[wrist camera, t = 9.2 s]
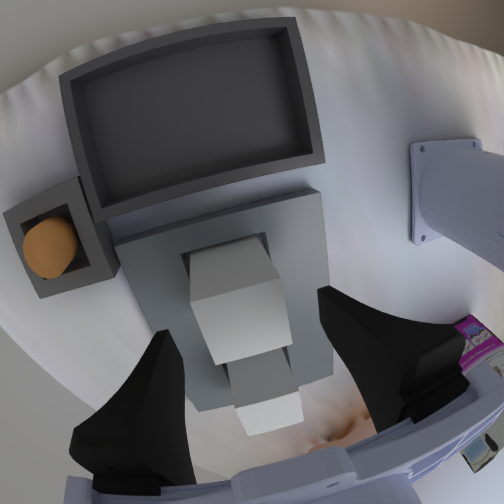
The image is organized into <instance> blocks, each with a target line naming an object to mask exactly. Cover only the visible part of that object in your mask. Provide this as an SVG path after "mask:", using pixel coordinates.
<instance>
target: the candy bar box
mask: <svg viewBox="0 0 504 504" xmlns="http://www.w3.org/2000/svg"><path fill="white" fill-rule="evenodd" d="M453 326H454V327H456V328H457V329H458V330H459V331H460V332H461V333H462V334H463V335H464V336H465V338H466V345H465V349H464V351H463V354H462V357H461V359H460V362H459V365H460V366H461V367H462V368H463V370H462V372H461V373H462V374H463V375H464V376H466V375H467V373H468V372H469V371H470V370H472V369H473V368H474V367H476V366H477V365H478V364H480V363H481V362H482V361H484V360H486V361H487V362H488V363H489V364H490V365H491V366H492V368H493V369H494V370H495V371H496V372H497V373H498V374H499V375H500V376H501V377H502V378H503V379H504V343H503V342H502V341H501V340H500V339H499V338H497V337H496V336H495V335H494V334H493V333H492V332H491V331H490V330H489V329H488V328H487V327H485V326H484V325H483V324H482V323H481V322H480V321H478V320H477V319H476V318H475V317H474V316H473V315H469V316H467V317H465V318H464V319H462V320H460V321H458V322H456V323H455V324H453ZM503 449H504V409H503V411H502V412H501V413H500V415H499V416H498V417H497V419H496V420H495V421H494V422H493V423H492V424H491V425H490V426H489V427H488V428H487V429H486V430H484V431H483V432H482V433H481V434H480V435H479V436H477V437H476V438H475V439H474V440H473V441H471V442H470V443H469V444H468V445H466V446H465V447H464V448H463V449H462V450H460V451H459V452H460V453H461V454H462V456H463V457H464V459H465V460H466V462H467V463H468V465H469V466H470V468H471V469H472V471H473V472H474V473H476V472H478V471H480V470H481V469H482V468H483V467H484V466H485V465H487V464H488V463H489V462H490V461H491V460H493V459H494V458H495V457H496V456H497V455H498V454H499V453H500V452H501V451H502V450H503Z"/></svg>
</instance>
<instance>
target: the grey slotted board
mask: <svg viewBox="0 0 504 504" xmlns="http://www.w3.org/2000/svg"><path fill="white" fill-rule="evenodd" d="M260 232H263V237H264V242H265V247H266V252H267V254H268V256H269V258H270V260H271V261H272V263H273V265H274V267H275V268H276V270H277V272H278V273H279V275H280V277H281V281H282V286H283V292H284V297H285V303H286V309H287V314H288V320H289V326H290V332H291V337H292V343H293V344H291V345H287V346H285V350H286V356H287V361H288V364H289V367H290V369H291V372H292V374H293V377H294V379H295V382H296V384H297V386H298V387H299V386H302V385H305V384H308V383H311V382H314V381H316V380H319V379H322V378H325V377H328V376H330V375H333V346H332V344H331V342H330V341H329V339H328V338H327V336H326V334H325V332H324V330H323V327H322V325H321V323H320V318H319V306H318V295H317V289H318V288H321V287H325V286H328V285H329V286H330V281H329V268H328V256H327V245H326V235H325V226H324V217H323V208H322V200H321V193H320V192H319V191H317V190H315V189H313V188H312V189H307V190H303V191H298V192H294V193H289V194H285V195H281V196H276V197H272V198H268V199H264V200H260V201H255V202H251V203H247V204H243V205H239V206H235V207H232V208H228V209H224V210H220V211H216V212H212V213H209V214H205V215H201V216H197V217H194V218H190V219H187V220H183V221H179V222H176V223H172V224H169V225H165V226H162V227H158V228H155V229H152V230H148V231H145V232H141V233H138V234H135V235H132V236H128V237H125V238H122V239H119V240H118V242H117V243H116V245H115V246H114V248H115V250H116V253H117V255H118V258H119V260H120V263H121V265H122V268H123V270H124V272H125V275H126V277H127V279H128V282H129V284H130V286H131V288H132V291H133V293H134V295H135V297H136V299H137V302H138V304H139V306H140V308H141V310H142V312H143V314H144V316H145V318H146V320H147V322H148V324H149V326H150V328H151V330H152V332H153V334H154V335H155V333H156V332H157V331H161V330H165V329H169V331H170V333H171V335H172V338H173V340H174V342H175V344H176V346H177V348H178V350H179V352H180V354H181V356H182V358H183V363H184V371H185V391H186V393H187V395H188V396H189V398H190V399H191V401H192V403H193V404H194V406H195V407H196V409H197V411H198V412H201V411H206V410H211V409H216V408H220V407H225V406H229V405H234V401H233V396H232V390H231V385H230V379H229V375H228V373H227V370H226V368H225V365H224V363H223V364H219V365H215V362H214V360H213V358H212V355H211V353H210V351H209V349H208V346H207V344H206V341H205V339H204V337H203V334H202V332H201V329H200V327H199V325H198V322H197V320H196V317H195V315H194V312H193V310H192V307H191V305H190V272H189V269H188V266H187V263H186V260H185V257H184V254H183V253H185V252H189V251H193V250H196V249H200V248H204V247H208V246H211V245H215V244H219V243H222V242H226V241H230V240H234V239H238V238H241V237H245V236H249V235H253V234H257V233H260Z"/></svg>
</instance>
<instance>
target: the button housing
mask: <svg viewBox="0 0 504 504" xmlns="http://www.w3.org/2000/svg"><path fill="white" fill-rule="evenodd" d="M66 203H67V204H68V207H69V210H70V213H71V216H72V219H73V222H74V224H75V227H76V230H77V232H78V235H79V237H80V240H81V243H82V245H83V247H84V250H85V252H86V255H87V256H86V257H83V258H79V259H76V260H73V261H71V262H70V264H69V265H68V266H67V267H66V269H65V270H64V271H63V273H62V274H61V275H60V276H58V277H56V278H53V279H47V278H43V277H41V276H39V275H37V274H36V273H35V272H34V271H33V270H32V269H31V268H30V267H29V265H28V264H27V262H26V260H25V257H24V253H23V242H24V238H25V236H26V234H27V233H28V232H29V231H30V230H31V229H32V228H34V227H35V226H36V225H38V222H37V219H36V216H38V215H40V214H42V213H45V212H47V211H49V210H52V209H54V208H56V207H58V206H61V205H63V204H66ZM3 215H4V218H5V221H6V224H7V227H8V229H9V232H10V235H11V237H12V240H13V242H14V245H15V247H16V250H17V252H18V254H19V257H20V259H21V261H22V263H23V266H24V268H25V270H26V272H27V274H28V276H29V278H30V280H31V282H32V284H33V286H34V288H35V290H36V292H37V294H38V296H39V298H40V299H42V298H45V297H49V296H52V295H55V294H59V293H62V292H66V291H69V290H73V289H76V288H80V287H83V286H87V285H91V284H94V283H98V282H101V281H105V280H108V279H112V278H115V276H116V274H117V272H118V269H119V267H120V265H121V263H120V260H119V258H118V255H117V253H116V250H115V248H114V246H115V244H114V242H113V239H112V236H111V234H110V231H109V228H108V225H107V223H106V220H104V221H101V222H98V223H95V220H94V217H93V214H92V212H91V209H90V206H89V203H88V200H87V197H86V193H85V190H84V187H83V184H82V180H81V177H80V176H78V177H75V178H73V179H71V180H68V181H66V182H64V183H61V184H59V185H57V186H55V187H53V188H50V189H48V190H46V191H44V192H42V193H40V194H38V195H36V196H34V197H32V198H30V199H28V200H26V201H24V202H22V203H20V204H18V205H16V206H14V207H13V208H11V209H9V210H7V211H5V212H4V213H3Z"/></svg>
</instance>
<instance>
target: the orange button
mask: <svg viewBox="0 0 504 504" xmlns="http://www.w3.org/2000/svg"><path fill="white" fill-rule="evenodd" d="M78 250H79V237H78V233H77V231H76V229H75V227H74V226H73V224H72V223H71V222H70V221H69V220H67V219H66V218H64V217H61V216H50V217H48V218H46V219H45V220H43V221H42V222H40V223H39V224H38V225H36V226H35V227H34V228H32V229H31V230H30V231H29V232H28V233H27V234H26V236H25V238H24V242H23V253H24V257H25V260H26V262H27V264H28V265H29V267H30V268H31V269H32V270H33V271H34V272H35V273H36V274H37V275H39V276H41V277H43V278H47V279H53V278H56V277H58V276H60V275H61V274H62V273H63V271H64V270H65V269H66V267H67V266H68V265H69V264H70V262H71V261H72V260H73V259H74V258H75V256H76V255H77V253H78Z"/></svg>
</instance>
